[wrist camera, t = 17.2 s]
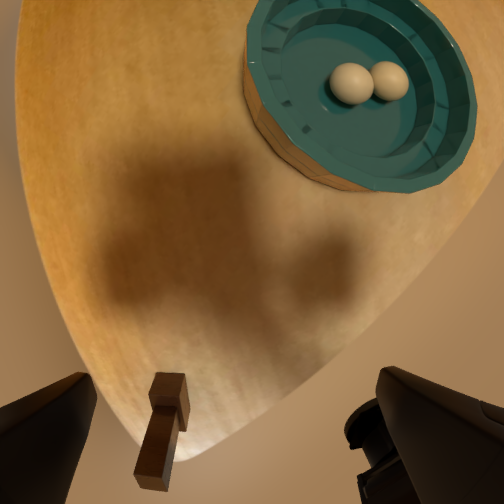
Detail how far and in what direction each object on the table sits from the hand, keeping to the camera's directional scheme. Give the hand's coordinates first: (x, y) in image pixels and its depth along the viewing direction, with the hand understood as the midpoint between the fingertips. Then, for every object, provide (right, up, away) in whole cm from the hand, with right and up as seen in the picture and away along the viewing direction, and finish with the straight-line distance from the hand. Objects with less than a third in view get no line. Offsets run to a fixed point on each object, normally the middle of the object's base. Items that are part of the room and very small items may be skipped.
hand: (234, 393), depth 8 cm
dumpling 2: (+10, +16, +9) cm, 21 cm away
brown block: (-6, -8, +15) cm, 18 cm away
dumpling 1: (+7, +15, +9) cm, 19 cm away
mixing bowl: (+8, +16, +10) cm, 21 cm away
